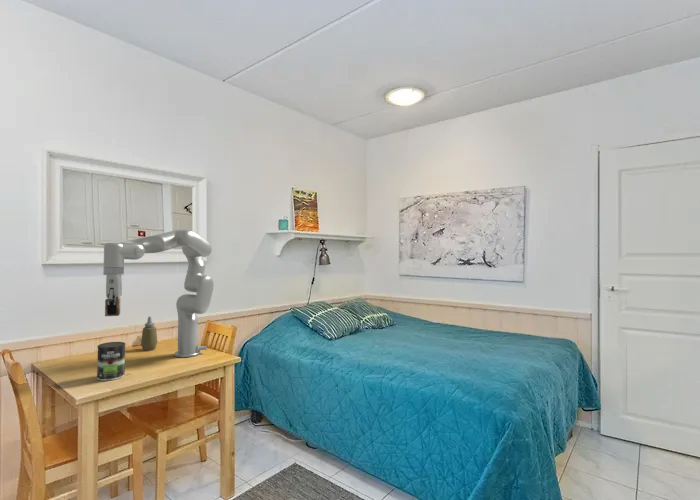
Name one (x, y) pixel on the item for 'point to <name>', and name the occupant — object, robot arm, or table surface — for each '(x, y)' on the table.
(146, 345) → the squeeze bottle
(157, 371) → the table surface
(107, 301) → the walnut block
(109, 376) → the coffee can
